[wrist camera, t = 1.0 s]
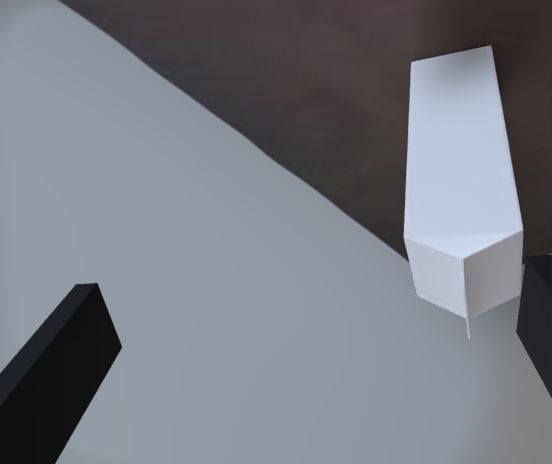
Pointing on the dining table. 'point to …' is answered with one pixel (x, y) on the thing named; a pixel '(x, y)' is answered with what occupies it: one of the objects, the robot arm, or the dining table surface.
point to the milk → (461, 186)
